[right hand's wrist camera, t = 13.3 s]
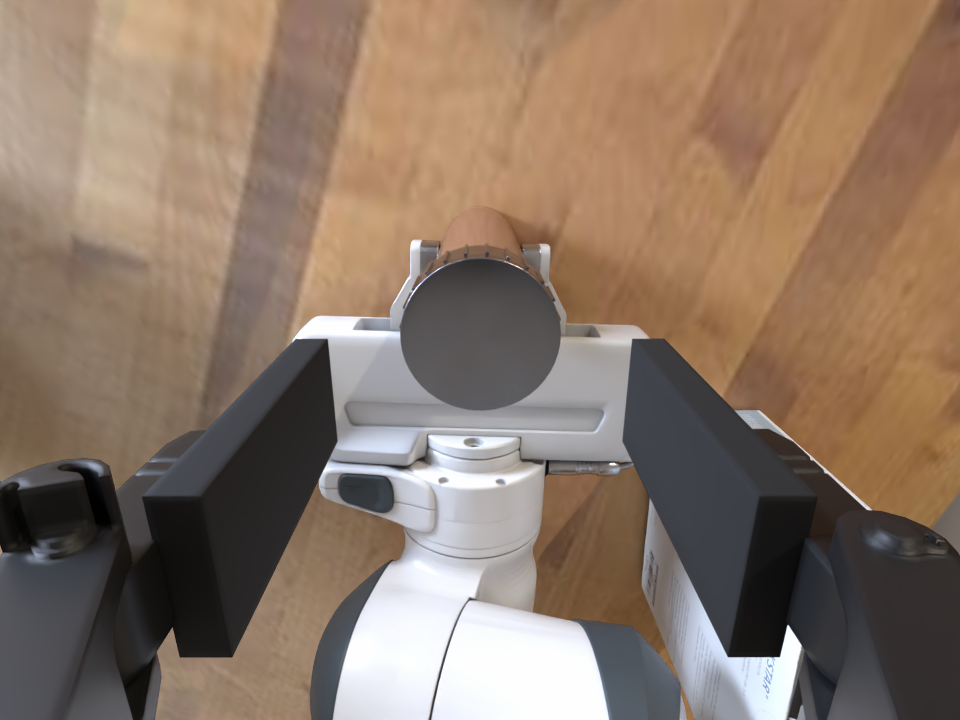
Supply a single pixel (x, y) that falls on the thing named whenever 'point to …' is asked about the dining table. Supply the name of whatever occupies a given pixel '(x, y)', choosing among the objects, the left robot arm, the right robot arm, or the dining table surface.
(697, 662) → the hard drive box
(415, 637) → the left robot arm
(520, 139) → the dining table surface
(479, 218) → the tan long rounded cylinder
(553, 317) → the lid
